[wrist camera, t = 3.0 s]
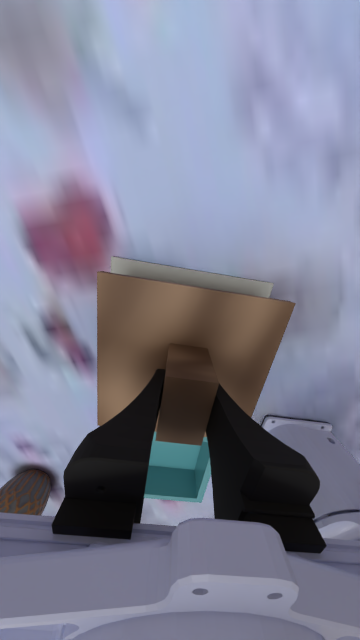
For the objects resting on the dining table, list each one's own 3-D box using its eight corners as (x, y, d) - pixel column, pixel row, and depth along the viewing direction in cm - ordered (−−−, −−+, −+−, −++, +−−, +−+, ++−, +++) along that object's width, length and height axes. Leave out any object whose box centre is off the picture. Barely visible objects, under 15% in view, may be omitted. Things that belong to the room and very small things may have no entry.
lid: (288, 301, 13) (350, 321, 8) (239, 433, 17) (261, 494, 12) (102, 271, 12) (54, 275, 7) (101, 417, 16) (71, 477, 12)
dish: (215, 408, 22) (222, 438, 18) (198, 467, 26) (201, 502, 22) (124, 398, 21) (113, 426, 18) (120, 460, 25) (110, 495, 21)
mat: (271, 283, 17) (273, 283, 16) (231, 404, 22) (232, 407, 21) (113, 256, 16) (111, 256, 16) (109, 389, 21) (107, 392, 20)
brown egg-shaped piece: (7, 462, 25) (-77, 560, 17) (53, 462, 25) (-8, 560, 17) (21, 491, 27) (-48, 589, 19) (63, 490, 27) (12, 589, 19)
